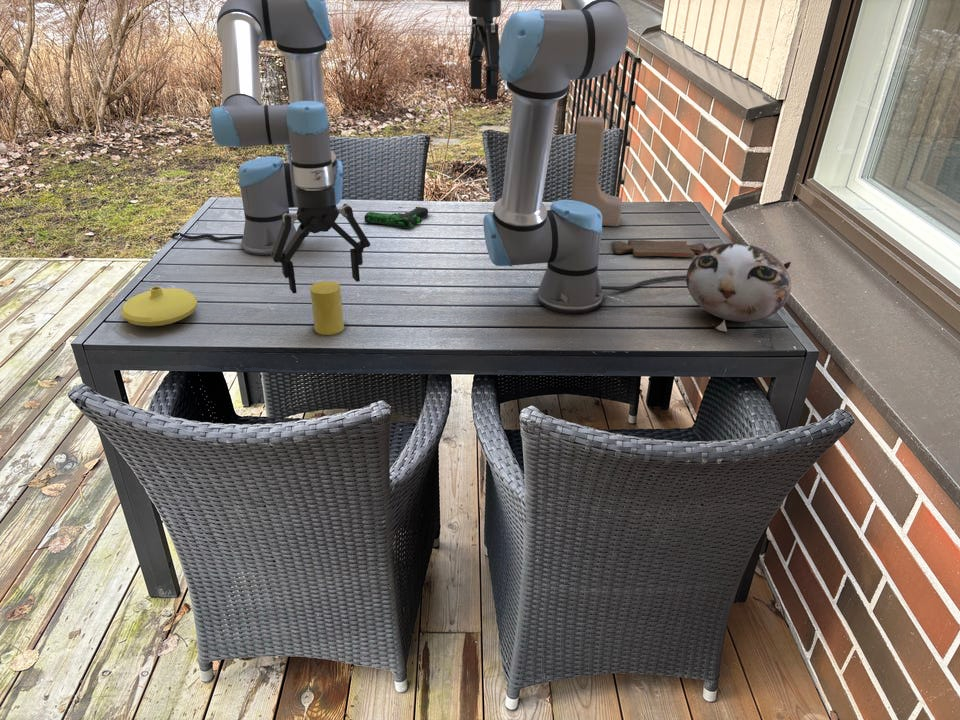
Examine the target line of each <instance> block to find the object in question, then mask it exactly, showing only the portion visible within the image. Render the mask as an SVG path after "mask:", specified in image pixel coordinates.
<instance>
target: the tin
mask: <svg viewBox="0 0 960 720" xmlns="http://www.w3.org/2000/svg"><path fill="white" fill-rule="evenodd" d="M309 293H310V303H311V310H312V317H313V326H314V331H315V332H316V333H317V334H319V335H323V336H332V335H337V334H339V333H341V332H343V331H344V329H345V322H344V312H343V310H344V309H343V299H342V290H341V284H339V283H338V282H336V281H330V280H322V281H318V282H314V283H313V284H311V285H310V287H309Z"/></svg>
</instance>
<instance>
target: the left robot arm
mask: <svg viewBox="0 0 960 720" xmlns="http://www.w3.org/2000/svg"><path fill="white" fill-rule="evenodd" d="M216 35H217V38H218V40H219V42H220V43H221V90H222V91H221V92H222V93H221V94H222V95H221V96H222V97H221V100H222V101H221V103H222V104H221V105H220V106H216V107H215V106H214V107H212V108H211V110H210V111H209V112H210V113H209V118H210V126H211V132H212V133H211V134H212V137H213V140H214V142H215V144H216V145H217V146H219V147H231V148H232V147H234V148H240V147H241V148H242V147H257V146H259V147H260V146H281V145H283V146H284V145H290V152H291V155H290V162H284V160H283V158H282V157H281V156H273V155H269V156H261V157H257V158H256V157H255V158H253V159H250V160H247V161H246V162H243V163H242V164H241V165H240V166H239V168H238V170H237V174H238V186H239V189H240V194H241V195H240V196H241V201H242V207H243V212H244V213H243V215H244V219H245V220H244V226H243V228H244V229H243V235H230V236H229V235H228V236H222V237H221V236H215V235H213V234H210V233H204V234H199V235H187V234H184V233H181V232H174V233H172V234H171V235H170V237H169V238H170V239H174V238H175V237H181V238H184V239H187V240H199V239H204V238H210V239H212V240H214V241H218V242H219V241H220V242H221V241H222V242H223V241H230V240H241V246H242V249H243V251H244V252H246V253H248V254H252V255H255V256H256V255H257V256H270V258H271V260H272V261H273V262H274V263H280V265H281V271H282V275H283V276H284V278H285V279H288V285H289V290H290V291H291V293H292V294H297V293H298V291H297V285H296V277H295V275H296V274H295V268H294V263H293V262H292V259H293V256H294V255H295V253H297V251H298V249H299V248H300V247H301V245H302V243H303V242H304V240H305V239H306V238H307V237H308V236H309V234H310V233H312V234H318V233H320V232H323V233H326V232H329V231H330V230H331V229H333V230H334V231H335V233H337V234H338V235H339V236H340V237H341V238H342V239H344V241H346V242H347V243H348V244H349V245H350V246H351V247H353V248H350V249H349V253H350V265H351V277H352V279H353V280H354V281H355V282H356V283H359V282H360V281H361V276H360V266H362V265H363V262H364V260H363V252H364V249H365V248H370V247H371V242H370V241H369V239H368V237H367V236H366V234H365V233H364V231H363V230H362V228H361V226H360V225H359V222H358V221H357V220H356V218H355V217H354V210H353V208H352V207H351V206H350V205H349V204H348V203H343V205H342V206H339V207H338V206H337V205H338V204H339V203H340V202H341V201H342V197H343V187H344V185H343V183H344V178H343V176H344V175H343V173H344V167H343V162H342V161H341V160H339V159H337V155H336V153H335V152H333V150H332V149H331V135H330V119H329V115H328V109H327V104H326V93H325V82H324V71H323V59H322V55H323V54H324V53H325V52H326V51H327V49H328V45H327V42H330V41H332V40H333V34H332V29H331V23H330V19H329V15H328V9H327V4H326V0H225V1H224V3H223V4H222V6H221V8H220V9H219V12H218V15H217V19H216ZM265 41H266V42H275V43H276V49H277V51H278V52H279V53H280V54H282V55H283V56H284V63H285V70H286V71H285V72H286V80H287V88H288V97H289V104H274V105H269V104H268V105H265V104H264V105H262V91H261V89H262V88H261V72H260V53H259V51H260V50H259V47H260V45H261V44H262V42H265ZM293 208H297V210H296V213H290V209H293ZM339 215H341V216H342V217H343V218H345V219H346V220H347V222H348V224H349V226H350V227H351V228H352V230H353V232H354V233H355V235H356V236H357V239H358V240H359V241H358V242H357V241H356V240H355V239H354V238H353V237H352V236H351V235H350V234H349V233H348V232H347V231H345V229H343V228H342V227H341V226H340V225H339V224H338V223H337V222H336V221H337V219H338V217H339ZM295 221H298V222H299V223H300V224H299V225H298V227H297V229H296V227H295V225H294V224H295ZM179 234H180V236H178V235H179Z"/></svg>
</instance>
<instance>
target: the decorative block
mask: <svg viewBox="0 0 960 720" xmlns="http://www.w3.org/2000/svg"><path fill="white" fill-rule="evenodd" d="M604 131H605V118H604V117H603V116H588V115H587V116H585V115H579V116H578V117H577V121H576V133H575V147H574V158H573V160H574V161H573V170H572V171H573V172H572V181H571V183H572V184H571V193H570V194H571V195H570V197H571V198H570V200H573V201H579V202H583V203H586V204H589V205H592V206H594V207H595V208H597V209H598V210H599V211H600V212H601V214H602V227H604V226H606V227H620V226H621V217H622V209H623V203H622V198H621V197H619V196H615V195H611V194H607V193H606V192H604V191H603V190H602V187H601V185H600V174H601V173H600V171H601V162H602V153H603V141H604Z"/></svg>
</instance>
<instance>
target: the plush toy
mask: <svg viewBox="0 0 960 720" xmlns="http://www.w3.org/2000/svg"><path fill="white" fill-rule="evenodd" d="M791 263H792V261H788V262H785V263H782V261H781V260H779V258H778V257H776V256H775V255H773V254H772V253H770V252H768V250H765V249H763V248H760V247H758V246H754V245H751V244H746V243H739V242H738V243H735V242H734V243H733V242H732V243H731V242H730V243H729V242H728V243H722V244H718V245H714V246H711V247H709V248H707V247H706V246H704V247H703V252H702V253H700V254H698V255H697V256H696V257H695V258H694V259H693V260H692V261H691V263H690V264H689V266H688V269H687V272H686V275H687V277H686V278H685V280H686V281H685V283H686V287H687V290H688V292H689V295H690V296H691V298H692V300H693V301H694V302H695V304H697V305H698V306H699V307H700V308H701V309H702V310H704V311H705V312H706V313H708V314H710V315H712V316H714V317H717V318H719V319H722V322H721V323H720V324H719V325H718V326H716V327H715V329H716V330H718V331H722V332H728V329H727V326H726V320H727V321H730V322H737V323H738V322H740V323H747V322H756V321H761V320H765V319H767V318H770V317H771V316H772V315H774V314H776V313H777V312H779V311H780V310H782V308H783V307H784V306H785V305H786V303H787V302H788V300H789V298H790V295H791V292H792V281H791V280H792V279H791V276H790V273H789V271H788V269H789V268H790V266H791Z"/></svg>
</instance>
